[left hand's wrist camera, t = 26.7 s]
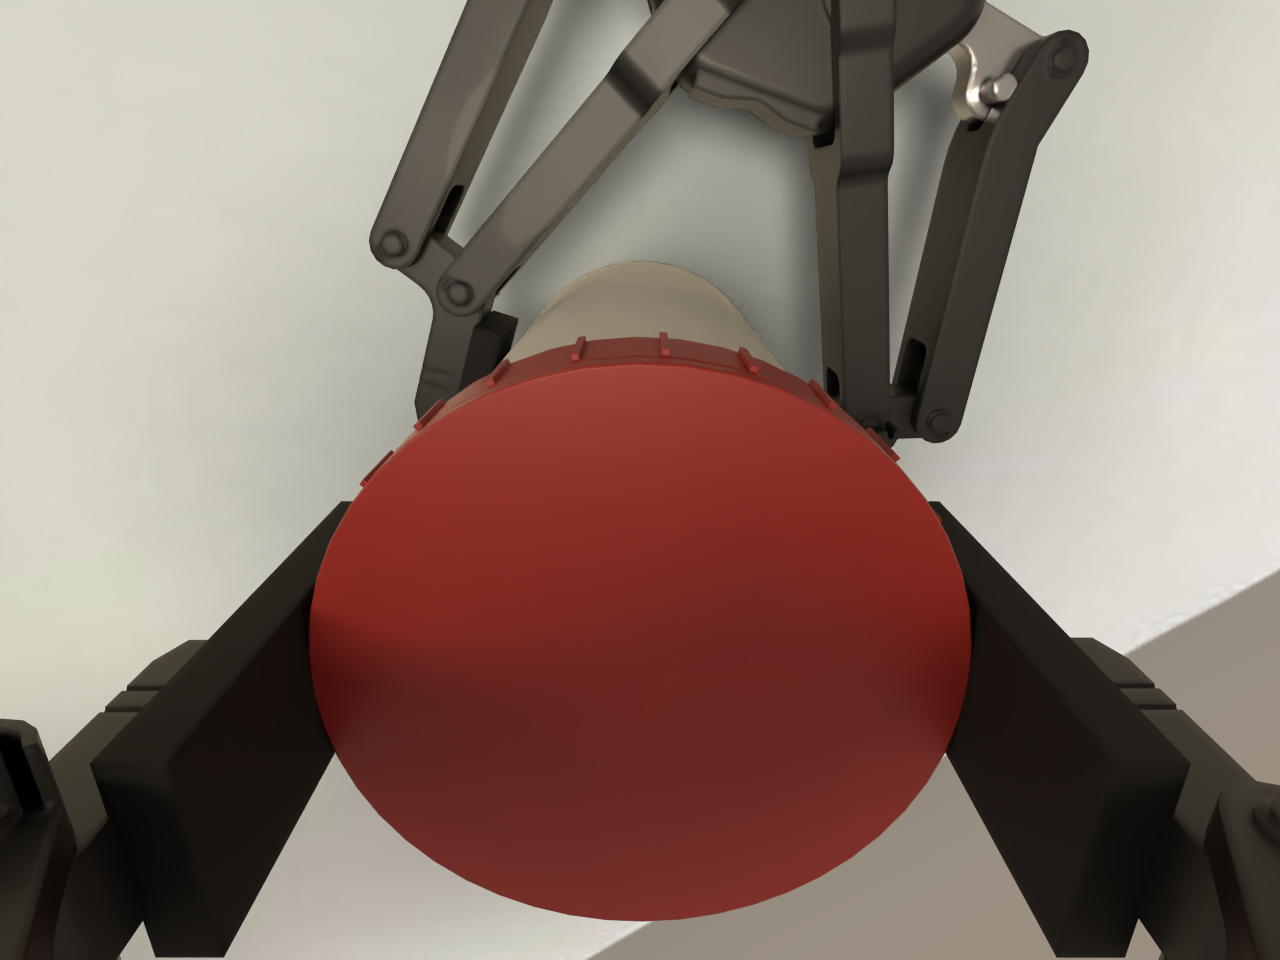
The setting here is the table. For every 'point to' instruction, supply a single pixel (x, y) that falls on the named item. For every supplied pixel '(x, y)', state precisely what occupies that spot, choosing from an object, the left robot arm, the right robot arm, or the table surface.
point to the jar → (640, 311)
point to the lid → (640, 632)
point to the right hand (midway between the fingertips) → (593, 571)
